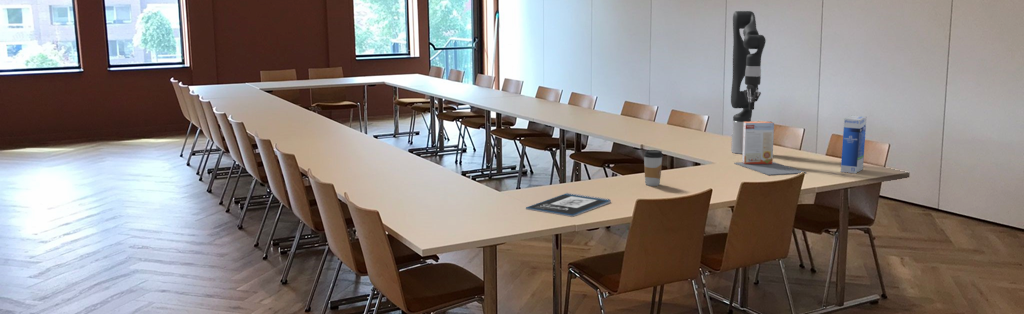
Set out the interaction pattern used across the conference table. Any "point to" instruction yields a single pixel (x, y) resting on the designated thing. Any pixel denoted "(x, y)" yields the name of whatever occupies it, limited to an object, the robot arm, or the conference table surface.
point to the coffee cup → (652, 167)
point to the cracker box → (758, 142)
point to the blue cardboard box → (853, 144)
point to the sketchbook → (569, 204)
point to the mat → (771, 168)
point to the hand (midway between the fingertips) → (751, 109)
